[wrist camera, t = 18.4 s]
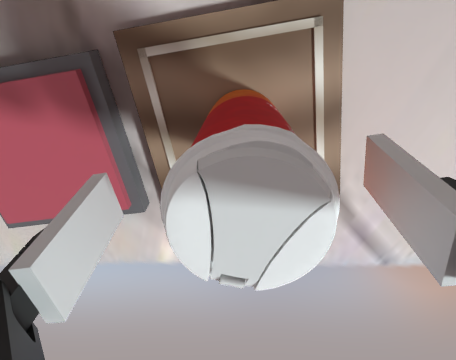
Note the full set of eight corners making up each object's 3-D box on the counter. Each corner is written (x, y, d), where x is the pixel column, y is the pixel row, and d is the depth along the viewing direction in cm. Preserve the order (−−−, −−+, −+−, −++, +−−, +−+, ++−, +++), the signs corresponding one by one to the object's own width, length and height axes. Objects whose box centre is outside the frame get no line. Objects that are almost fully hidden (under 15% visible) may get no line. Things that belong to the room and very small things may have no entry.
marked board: (117, 30, 22) (111, 31, 21) (339, -11, 20) (344, -13, 19) (171, 208, 29) (169, 215, 28) (336, 188, 28) (340, 195, 27)
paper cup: (274, 175, 26) (308, 312, 14) (188, 155, 25) (143, 282, 13) (305, 86, 22) (388, 164, 10) (206, 61, 22) (166, 112, 10)
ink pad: (-65, 79, 24) (-94, 85, 22) (97, 49, 23) (83, 52, 21) (19, 218, 31) (3, 233, 28) (149, 202, 29) (142, 217, 27)
